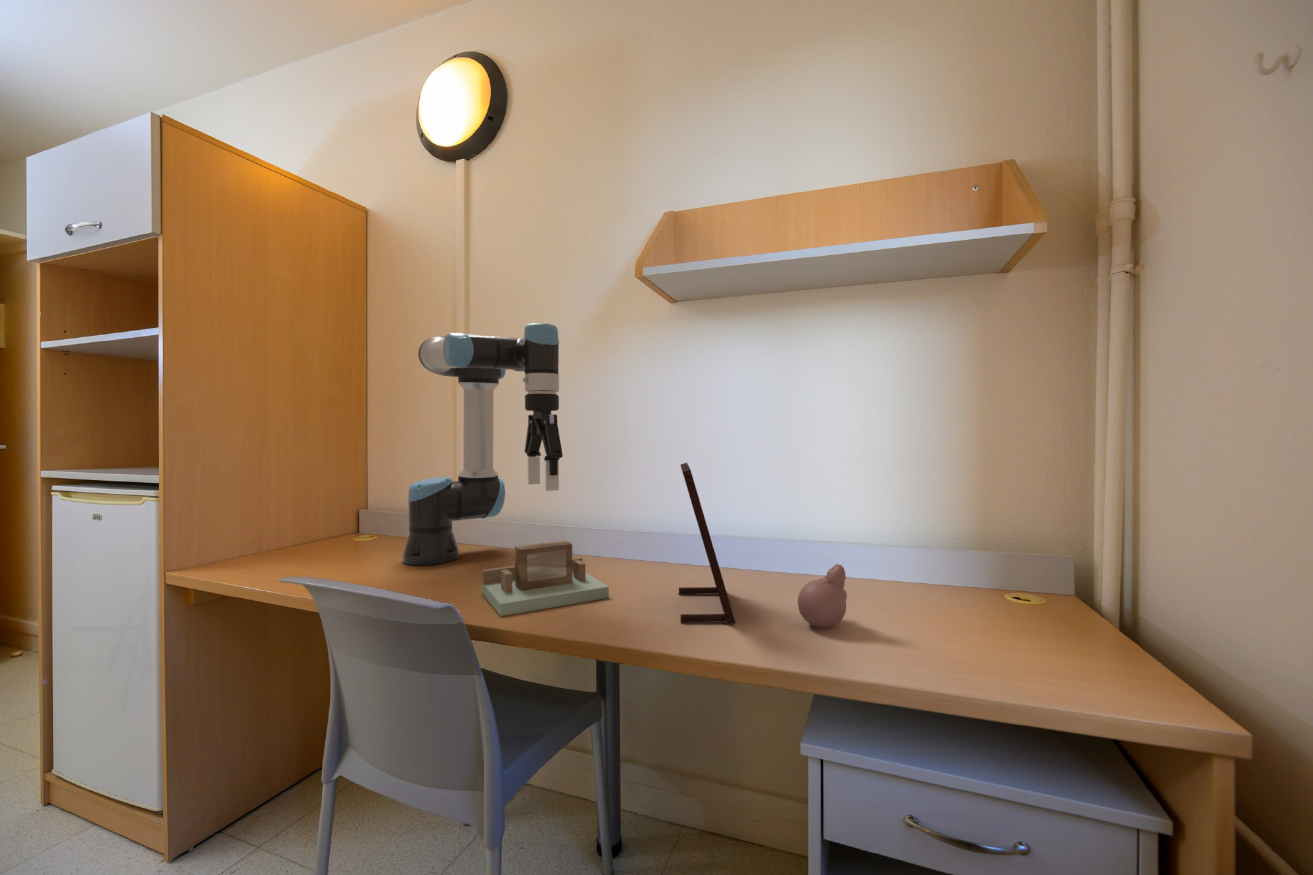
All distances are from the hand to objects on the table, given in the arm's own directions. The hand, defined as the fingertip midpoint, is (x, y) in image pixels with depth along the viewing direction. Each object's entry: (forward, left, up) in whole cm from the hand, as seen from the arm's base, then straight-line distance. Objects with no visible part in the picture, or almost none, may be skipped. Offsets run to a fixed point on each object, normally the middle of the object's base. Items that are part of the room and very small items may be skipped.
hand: (542, 487), depth 126 cm
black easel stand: (+25, +27, -25) cm, 45 cm away
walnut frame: (0, 0, -22) cm, 22 cm away
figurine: (+45, +41, -25) cm, 66 cm away
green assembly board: (0, 0, -25) cm, 25 cm away
